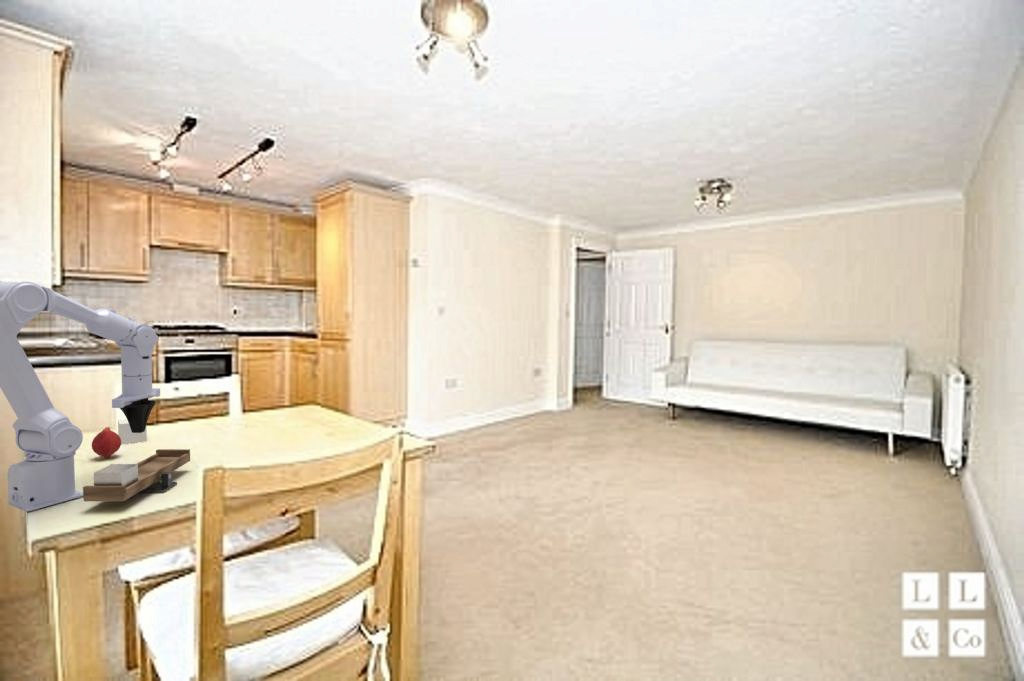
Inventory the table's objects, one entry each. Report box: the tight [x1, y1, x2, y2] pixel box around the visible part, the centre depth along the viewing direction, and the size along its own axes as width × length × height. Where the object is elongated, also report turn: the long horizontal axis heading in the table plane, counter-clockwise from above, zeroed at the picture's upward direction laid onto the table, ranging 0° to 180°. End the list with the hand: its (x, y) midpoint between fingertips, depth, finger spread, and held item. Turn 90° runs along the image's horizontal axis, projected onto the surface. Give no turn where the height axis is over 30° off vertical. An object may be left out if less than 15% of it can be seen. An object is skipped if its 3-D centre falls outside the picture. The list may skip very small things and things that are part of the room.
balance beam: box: [82, 448, 191, 502], centre depth 109 cm, size 24×8×3 cm, turn 6°
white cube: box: [117, 418, 148, 446], centre depth 144 cm, size 6×6×6 cm
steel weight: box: [93, 463, 138, 488], centre depth 100 cm, size 5×5×4 cm
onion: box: [91, 426, 122, 459], centre depth 128 cm, size 6×6×8 cm
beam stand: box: [137, 472, 178, 494], centre depth 109 cm, size 5×11×4 cm, turn 96°
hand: (138, 432), depth 119 cm, fingers closed
